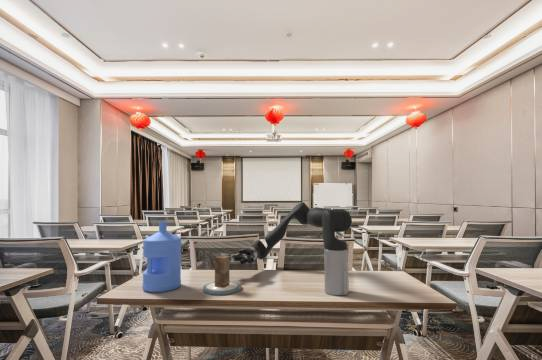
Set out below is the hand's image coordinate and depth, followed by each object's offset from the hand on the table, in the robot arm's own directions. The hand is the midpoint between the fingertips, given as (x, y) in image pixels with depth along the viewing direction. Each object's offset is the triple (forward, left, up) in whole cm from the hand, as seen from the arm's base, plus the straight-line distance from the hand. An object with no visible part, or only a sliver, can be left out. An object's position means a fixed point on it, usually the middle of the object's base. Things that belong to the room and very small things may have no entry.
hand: (232, 261), depth 135 cm
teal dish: (0, +10, -9) cm, 14 cm away
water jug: (+26, +16, -10) cm, 32 cm away
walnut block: (0, +10, -8) cm, 13 cm away
